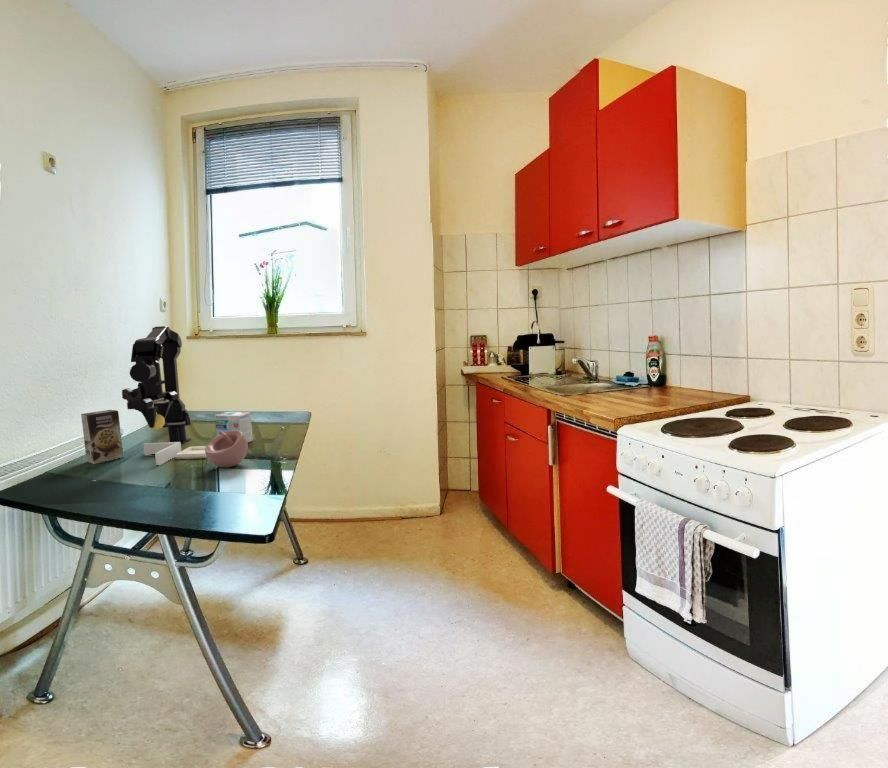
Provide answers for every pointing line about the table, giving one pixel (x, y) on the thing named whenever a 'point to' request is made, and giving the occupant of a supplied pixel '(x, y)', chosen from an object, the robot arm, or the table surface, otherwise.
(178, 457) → the tray
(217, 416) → the light bulb box
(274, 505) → the table surface
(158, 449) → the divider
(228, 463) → the pink slanted bowl
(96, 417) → the brown upright rectangular box
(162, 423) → the ball
